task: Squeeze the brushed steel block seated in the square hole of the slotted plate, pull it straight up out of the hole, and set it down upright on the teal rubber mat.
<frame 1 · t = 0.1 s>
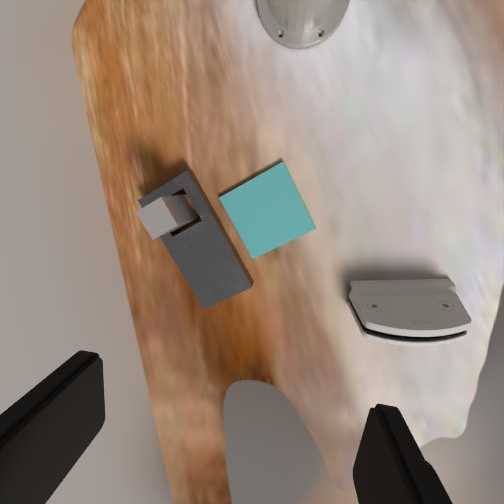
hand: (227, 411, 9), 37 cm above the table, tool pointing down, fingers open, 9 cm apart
mat: (267, 212, 44), on the table
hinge: (396, 299, 46), on the table
steel block: (183, 211, 46), resting in slotted plate
slotted plate: (200, 241, 47), on the table
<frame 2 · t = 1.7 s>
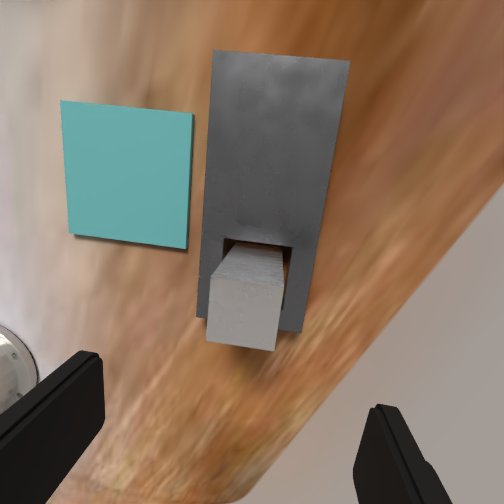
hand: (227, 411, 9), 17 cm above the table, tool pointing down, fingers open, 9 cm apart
mat: (129, 178, 25), on the table
steel block: (256, 266, 26), resting in slotted plate
slotted plate: (263, 205, 24), on the table
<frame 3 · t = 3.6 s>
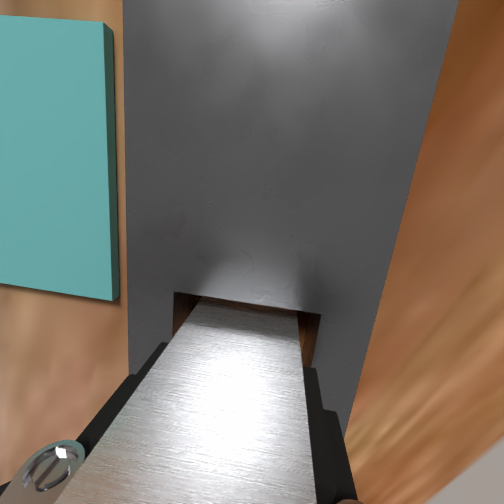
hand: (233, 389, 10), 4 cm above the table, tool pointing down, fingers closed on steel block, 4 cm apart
mat: (1, 166, 13), on the table
steel block: (246, 333, 14), resting in slotted plate, touching gripper
slotted plate: (260, 219, 12), on the table
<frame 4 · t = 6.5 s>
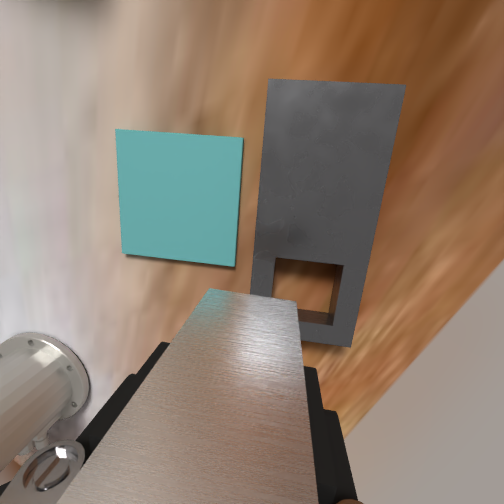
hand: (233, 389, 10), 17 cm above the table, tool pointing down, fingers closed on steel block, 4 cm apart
mat: (179, 200, 26), on the table
steel block: (247, 333, 14), point 13 cm above the table, touching gripper
slotted plate: (311, 223, 25), on the table
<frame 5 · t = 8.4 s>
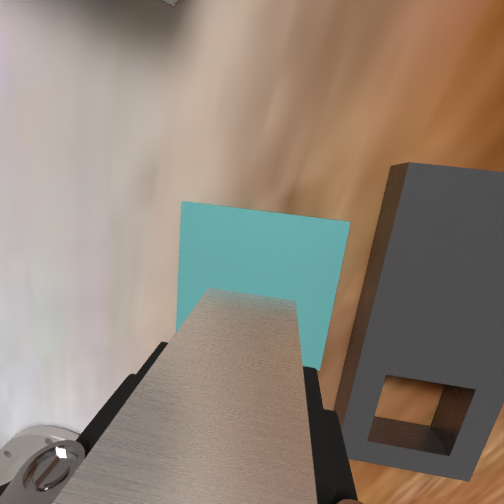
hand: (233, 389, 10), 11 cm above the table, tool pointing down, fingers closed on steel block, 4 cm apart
mat: (255, 287, 20), on the table
steel block: (246, 332, 14), point 7 cm above the table, touching gripper
slotted plate: (423, 324, 20), on the table
when the fingers open (6 cm above the table, at t = 9.6 s): steel block drops 1 cm, resting on mat.
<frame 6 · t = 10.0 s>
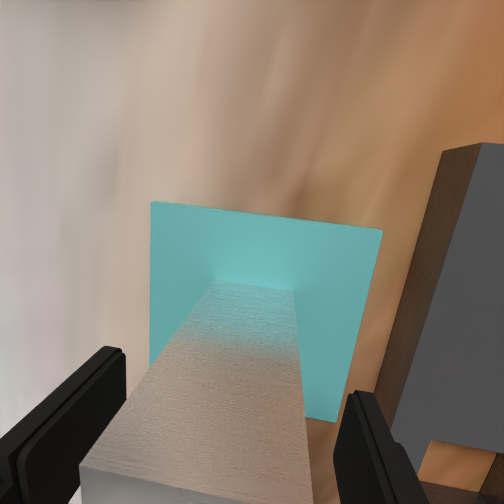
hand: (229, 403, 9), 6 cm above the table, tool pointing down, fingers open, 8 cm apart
mat: (251, 315, 15), on the table
steel block: (249, 320, 15), point 1 cm above the table, touching mat
slotted plate: (477, 367, 15), on the table
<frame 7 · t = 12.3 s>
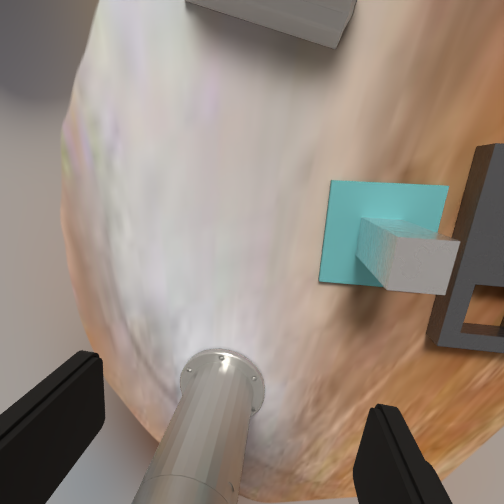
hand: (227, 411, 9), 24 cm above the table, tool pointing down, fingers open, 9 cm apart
mat: (377, 236, 30), on the table
steel block: (378, 237, 30), point 1 cm above the table, touching mat
slotted plate: (496, 253, 29), on the table
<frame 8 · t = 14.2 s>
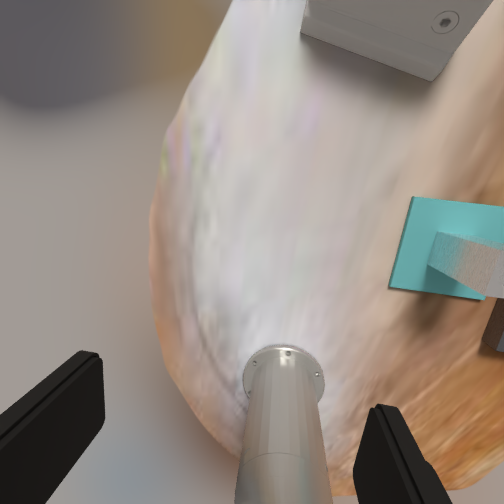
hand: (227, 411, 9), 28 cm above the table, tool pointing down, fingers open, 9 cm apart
mat: (447, 248, 34), on the table
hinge: (380, 20, 29), on the table
steel block: (450, 250, 33), point 1 cm above the table, touching mat
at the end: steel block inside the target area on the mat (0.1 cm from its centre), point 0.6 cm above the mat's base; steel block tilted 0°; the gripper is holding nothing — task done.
